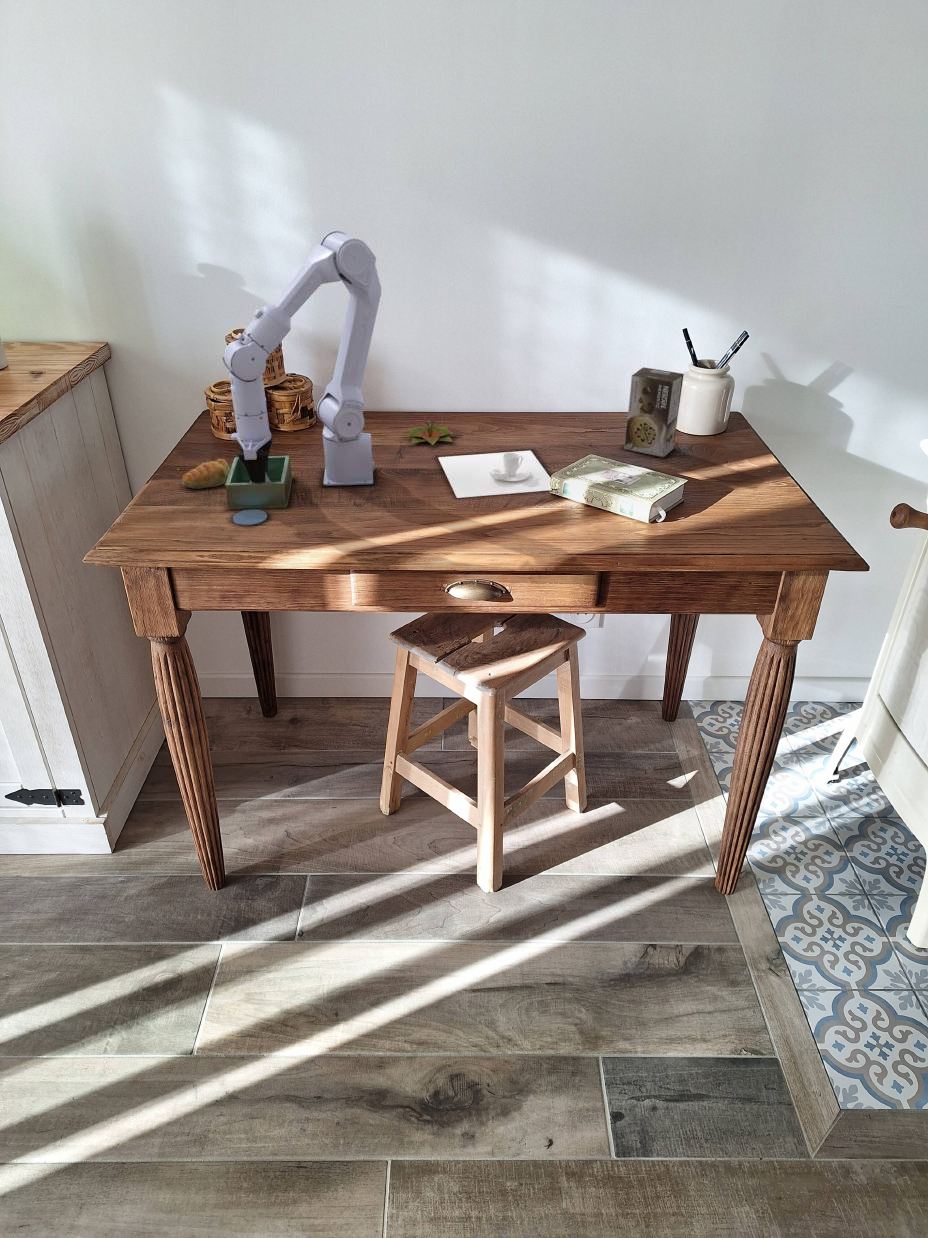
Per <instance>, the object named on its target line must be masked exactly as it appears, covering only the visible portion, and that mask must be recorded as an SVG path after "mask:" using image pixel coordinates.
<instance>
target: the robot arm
mask: <svg viewBox="0 0 928 1238" xmlns="http://www.w3.org/2000/svg"><path fill="white" fill-rule="evenodd" d="M376 262H377V257H376V255H375V254H374V252H373V251H372V250H371V248H370V247H369V246H368V245H367V243H366V242H365V241H364V240H361V239H359V238H355V237H352V236H351V235H348V234H346V233H345V232H343V231H340V230H331V231H328V233H326V234H325V235H324V236H323V237H322V239H321V240H320V243H317V244H316V245H315V246H314V247H313V248H312V249H311V252H310V253H309V255H308V258H307V259H306V260H305V262H304V263H303V265H302V266H301V268H299V270H298V271H297V273H296V274H295V276H294V277H293V278H292V280H291V281H290V283H288V285H287V287H286V289H285V290H284V291H283V292H282V294H281V295H280V297H279V298H278V300H277V301H276V302H275V304H270V305H264V306H262V308H261V309H259V308H256V310H255V311H253V314H252V315H253V316H254V317H253V319H252V320H251V322H250V323H249V324H248V325H247V326H246V328H245V329H244V330H243V332H242V333H241V332H238V333H237V335H236V336H235V337H236V340H234V341H231V342H230V343H228V344H227V346H226V347H225V349H224V354H223V356H222V357H221V359H222V362H223V364H224V365H225V367H226V368H227V369H228V370H229V371H228V373H229V381H230V393H231V400H232V407H233V413H234V418H235V419H234V420H235V426H236V432H233V433H232V434H231V435H230V439H231V441H237V442H238V443H239V445H240V446H241V449H238V450H237V457H238V458H239V459H240V460H241V462H242V463H243V464H244V466H245V468H246V470H247V472H248V475H249V477H250V480H251V482H252V483H261V482H265V479H266V474H267V472H268V456H270V452H271V450H270V449H271V447H272V444H273V441H274V439H273V436H272V431H270V424H269V415H268V409H267V407H268V406H267V400H266V392H265V384H264V381H263V375H264V373H265V371H266V368H267V360H268V358H269V357H270V356H271V355H272V353H273V352H274V351H275V350H276V349H277V348H278V346H279V345H280V344H281V342H283V340H284V339H285V338H286V336H287V335H288V334H289V333H290V332H291V329H292V325H291V322H292V318H293V316H294V315H295V314H296V313H297V312H298V311H299V310H300V308H301V307H302V306H303V305H304V304H305V303H306V302H307V301H308V300H309V299H310V298H311V296H313V294H314V293H315V292H316V291H317V290H318V289H319V287H321V285H324V284H331V283H336V282H337V283H338V282H342V284H343V285H344V286H345V288H346V289H347V291H348V293H349V298H348V303H347V307H346V313H345V317H344V323H343V327H342V332H341V337H340V342H339V347H338V352H337V358H336V362H335V367H334V371H333V377H332V380H331V381H330V382H329V383H327V385H326V386H325V390H324V393H323V395H322V397H321V398H320V400H319V401H318V403H317V406H316V414H317V417H318V419H319V421H320V422H321V423H322V424H323V429H322V442H323V454H324V465H325V468H324V475H323V486H325V487H331V486H332V487H333V486H361V485H363V486H364V485H373V484H374V472H375V461H374V460H373V448H372V447H373V446H372V434H371V433H369V432H368V433H367V432H363V430H364V427H365V417H364V405H365V402H364V397H363V394H362V389H361V388H362V384H363V378H364V374H365V370H366V366H367V365H366V364H367V360H368V356H369V351H370V346H371V343H372V338H373V334H374V328H375V323H376V319H377V315H378V310H379V306H380V301H381V297H382V286H381V281H380V277H379V274H378V270H377V265H376ZM261 450H262V451H261Z"/></svg>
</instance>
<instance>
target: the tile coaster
mask: <svg viewBox="0 0 928 1238" xmlns="http://www.w3.org/2000/svg"><path fill="white" fill-rule="evenodd" d="M267 519H268V514H267V512H266V511H264V510H261V509H243V510H241V511H238V512H236V513H235V514H234V515H233V516H232V521H233V523H234V524H236V525H239V526H244V527H251V526H256V525H257V526H258V525H260V524H262V523H264V522H265V521H266V520H267Z"/></svg>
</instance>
